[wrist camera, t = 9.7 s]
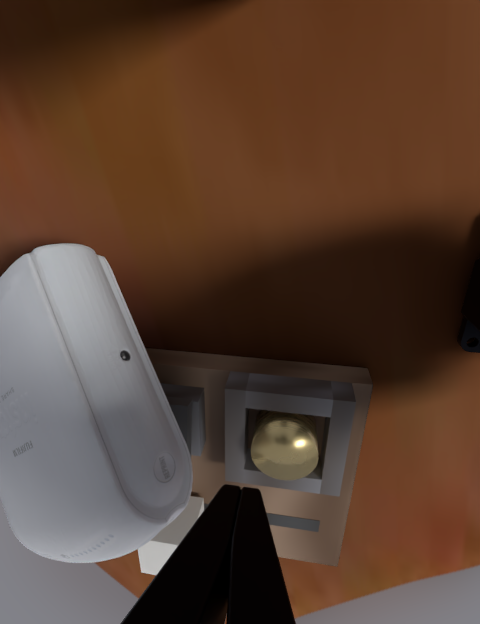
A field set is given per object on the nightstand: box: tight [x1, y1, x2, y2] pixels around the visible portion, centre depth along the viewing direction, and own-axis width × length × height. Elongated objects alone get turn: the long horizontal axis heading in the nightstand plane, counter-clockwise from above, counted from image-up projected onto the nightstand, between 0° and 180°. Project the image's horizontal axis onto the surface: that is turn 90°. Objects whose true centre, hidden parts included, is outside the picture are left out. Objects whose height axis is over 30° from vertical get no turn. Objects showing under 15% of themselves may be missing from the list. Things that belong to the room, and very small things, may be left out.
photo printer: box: [0, 243, 193, 563], centre depth 16 cm, size 10×4×12 cm
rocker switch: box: [166, 396, 193, 456], centre depth 17 cm, size 3×4×1 cm, turn 179°
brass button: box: [251, 410, 318, 480], centre depth 18 cm, size 3×3×2 cm
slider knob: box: [138, 496, 204, 575], centre depth 21 cm, size 3×3×3 cm
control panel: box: [145, 348, 373, 566], centre depth 21 cm, size 13×14×3 cm
